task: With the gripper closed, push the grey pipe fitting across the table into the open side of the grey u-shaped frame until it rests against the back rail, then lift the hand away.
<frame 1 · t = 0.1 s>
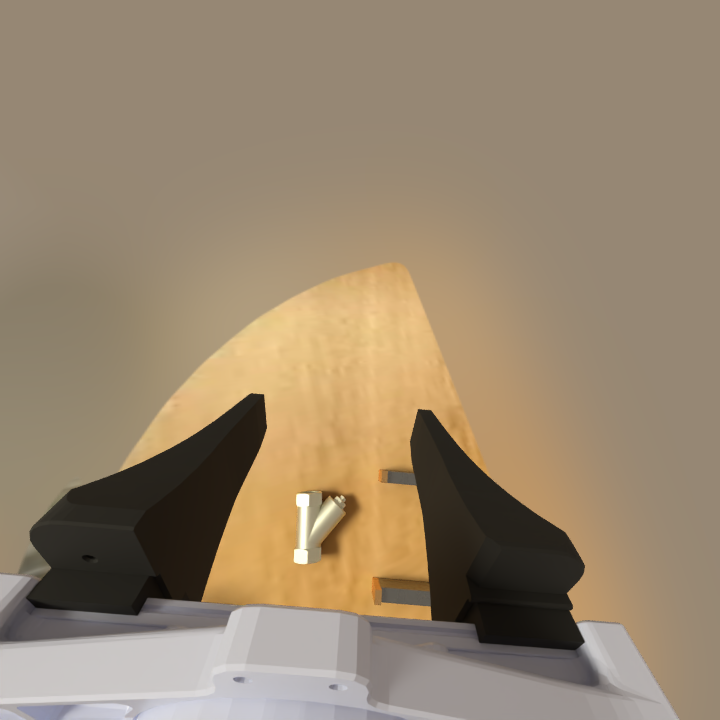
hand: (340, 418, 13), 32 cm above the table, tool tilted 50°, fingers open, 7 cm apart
pipe fitting: (322, 520, 40), on the table
grey u-shaped frame: (415, 530, 40), on the table
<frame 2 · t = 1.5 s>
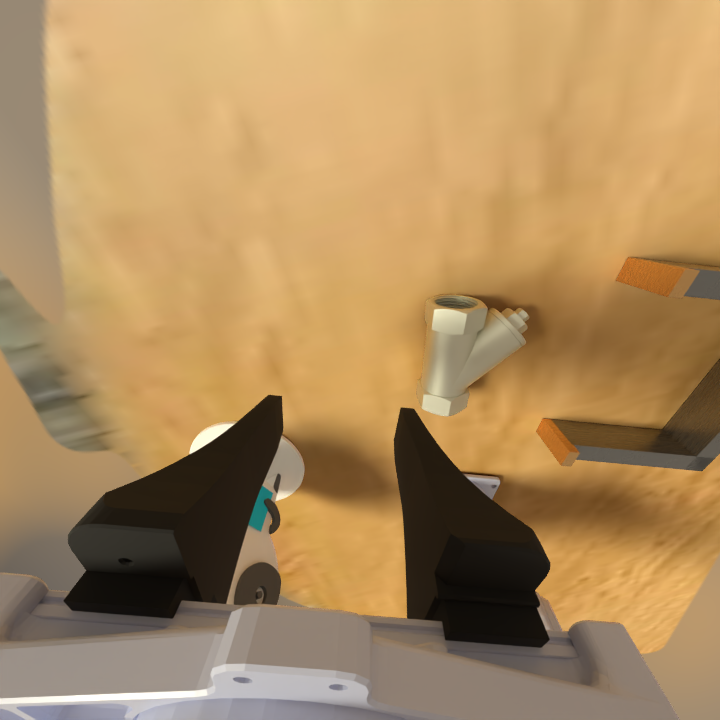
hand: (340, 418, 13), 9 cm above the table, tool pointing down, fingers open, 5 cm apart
panda figurine: (252, 464, 29), on the table
pipe fitting: (462, 343, 22), on the table
grey u-shaped frame: (646, 365, 22), on the table
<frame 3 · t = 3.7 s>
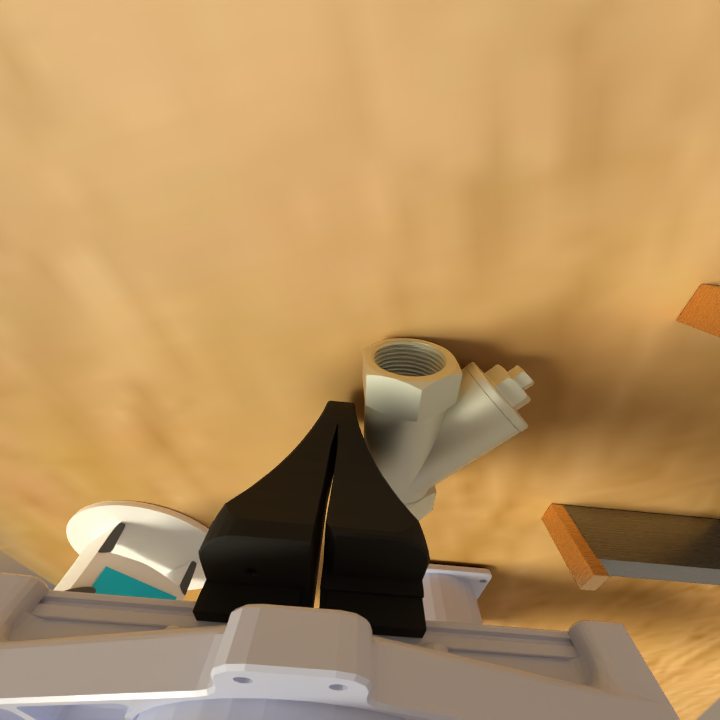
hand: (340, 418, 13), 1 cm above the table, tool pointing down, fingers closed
panda figurine: (158, 547, 22), on the table
pipe fitting: (429, 407, 14), on the table, touching gripper
grey u-shaped frame: (709, 441, 15), on the table
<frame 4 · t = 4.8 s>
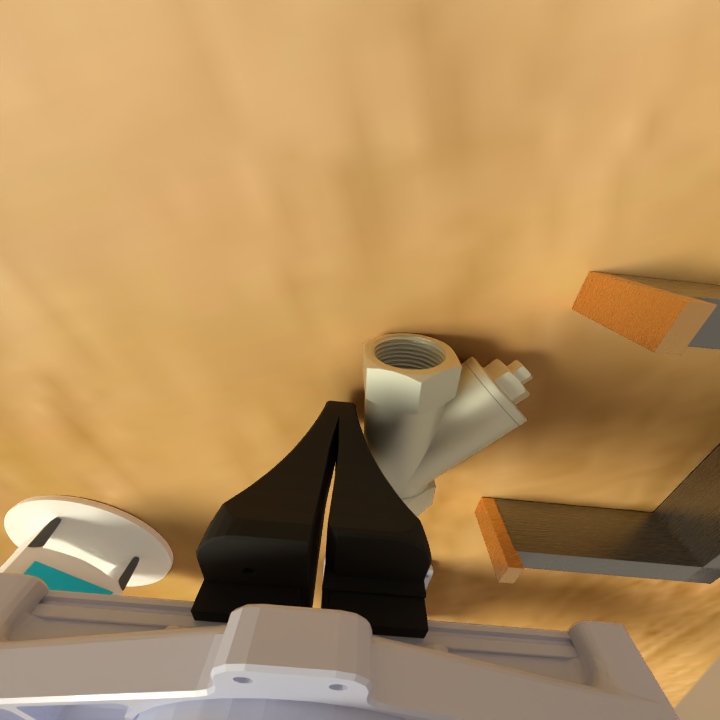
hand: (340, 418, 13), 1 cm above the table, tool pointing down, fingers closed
panda figurine: (101, 543, 22), on the table
pipe fitting: (428, 402, 15), on the table, touching gripper
grey u-shaped frame: (627, 432, 15), on the table
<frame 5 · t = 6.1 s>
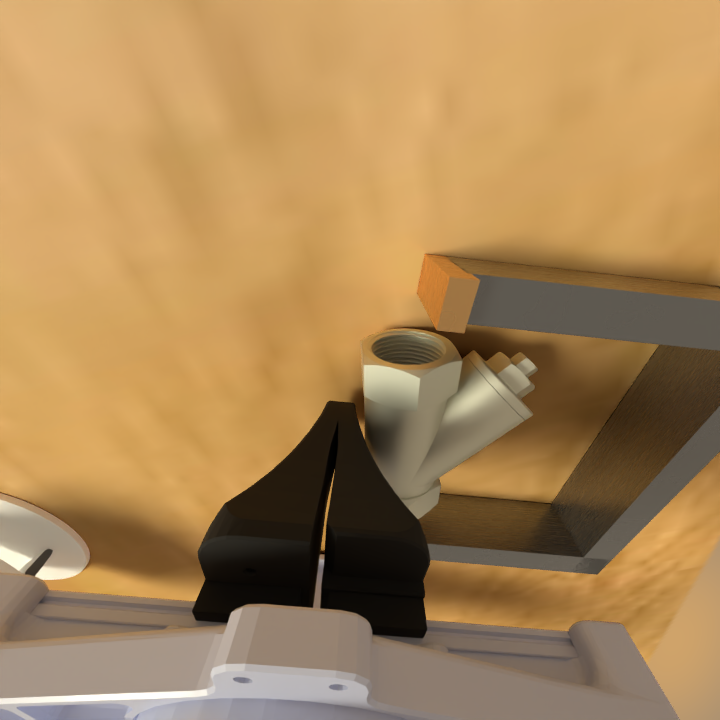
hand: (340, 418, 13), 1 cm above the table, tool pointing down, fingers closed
panda figurine: (15, 535, 21), on the table
pipe fitting: (431, 399, 14), on the table, touching gripper
grey u-shaped frame: (505, 421, 14), on the table
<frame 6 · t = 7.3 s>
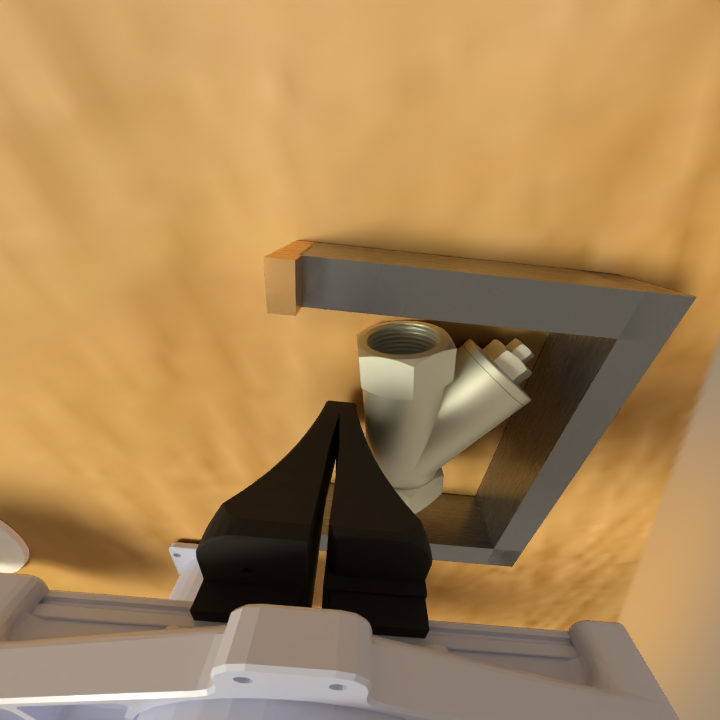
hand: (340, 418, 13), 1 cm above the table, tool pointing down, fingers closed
pipe fitting: (431, 390, 14), on the table, touching gripper
grey u-shaped frame: (411, 412, 14), on the table
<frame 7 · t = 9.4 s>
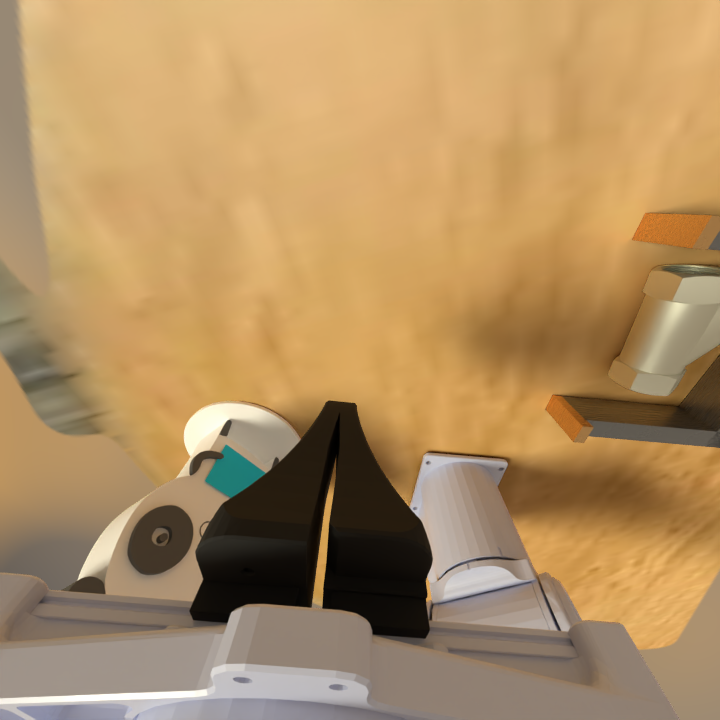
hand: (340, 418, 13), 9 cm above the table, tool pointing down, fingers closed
panda figurine: (248, 448, 28), on the table
pipe fitting: (662, 318, 21), on the table
grey u-shaped frame: (663, 335, 21), on the table
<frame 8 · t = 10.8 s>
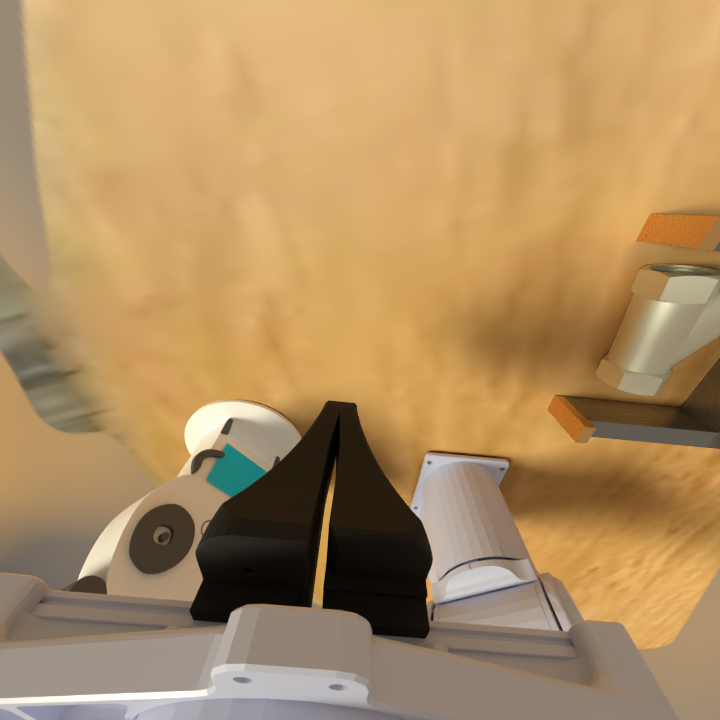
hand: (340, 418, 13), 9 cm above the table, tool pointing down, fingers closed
panda figurine: (249, 446, 28), on the table
pipe fitting: (650, 318, 21), on the table
grey u-shaped frame: (666, 336, 21), on the table
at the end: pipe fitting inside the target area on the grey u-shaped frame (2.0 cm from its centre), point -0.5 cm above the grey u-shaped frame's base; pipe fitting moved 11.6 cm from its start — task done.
